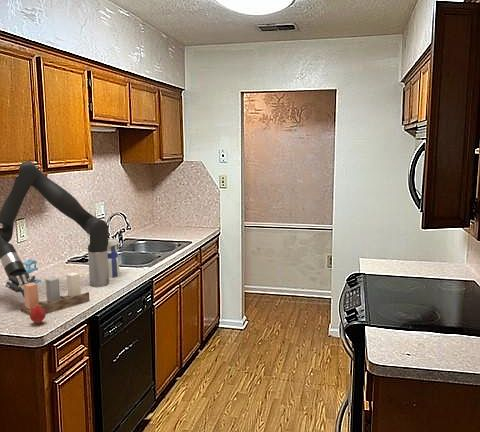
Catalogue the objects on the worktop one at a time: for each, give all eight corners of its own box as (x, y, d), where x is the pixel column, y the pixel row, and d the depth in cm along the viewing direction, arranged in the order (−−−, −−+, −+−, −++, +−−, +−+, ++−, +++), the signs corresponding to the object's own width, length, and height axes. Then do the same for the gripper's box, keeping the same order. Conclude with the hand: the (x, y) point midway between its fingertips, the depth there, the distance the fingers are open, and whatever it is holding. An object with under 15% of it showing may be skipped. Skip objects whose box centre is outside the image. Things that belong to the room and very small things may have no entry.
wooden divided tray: (76, 296, 229) (75, 287, 228) (89, 301, 222) (89, 292, 221) (21, 311, 209) (20, 302, 209) (33, 317, 202) (33, 307, 202)
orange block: (34, 305, 212) (32, 282, 210) (39, 307, 209) (37, 284, 207) (25, 307, 209) (23, 284, 207) (29, 309, 206) (28, 286, 204)
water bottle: (108, 279, 256) (105, 231, 252) (101, 275, 262) (99, 229, 258) (123, 276, 260) (121, 229, 256) (116, 272, 267) (114, 227, 263)
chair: (26, 280, 254) (24, 257, 252) (41, 281, 252) (39, 258, 250) (17, 284, 247) (15, 261, 245) (32, 285, 245) (30, 262, 243)
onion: (27, 325, 194) (25, 305, 193) (37, 320, 199) (36, 301, 198) (38, 327, 192) (37, 307, 190) (49, 322, 197) (47, 302, 196)
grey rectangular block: (55, 298, 219) (54, 277, 218) (60, 300, 217) (58, 278, 215) (47, 301, 216) (45, 279, 215) (51, 303, 214) (50, 280, 212)
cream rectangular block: (75, 293, 227) (74, 272, 225) (80, 295, 224) (79, 274, 223) (67, 295, 224) (66, 274, 222) (72, 297, 221) (71, 275, 220)
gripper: (-1, 263, 209) (15, 297, 203) (30, 257, 219) (46, 289, 213) (-5, 273, 213) (10, 306, 207) (25, 267, 223) (40, 298, 217)
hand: (28, 298), depth 210 cm, fingers closed
